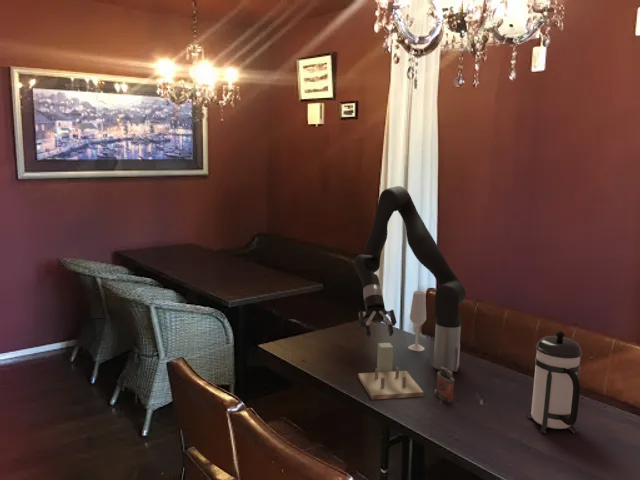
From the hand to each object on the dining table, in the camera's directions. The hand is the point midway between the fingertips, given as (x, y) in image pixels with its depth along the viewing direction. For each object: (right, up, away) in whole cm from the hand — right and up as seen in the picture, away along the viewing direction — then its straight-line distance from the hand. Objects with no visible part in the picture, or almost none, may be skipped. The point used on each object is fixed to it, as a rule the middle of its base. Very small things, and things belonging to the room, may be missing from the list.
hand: (380, 335), depth 216 cm
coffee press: (+48, -20, -44) cm, 69 cm away
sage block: (+1, -12, -5) cm, 13 cm away
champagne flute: (+17, -9, +19) cm, 27 cm away
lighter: (+19, -17, -26) cm, 36 cm away
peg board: (+1, -15, -19) cm, 24 cm away
